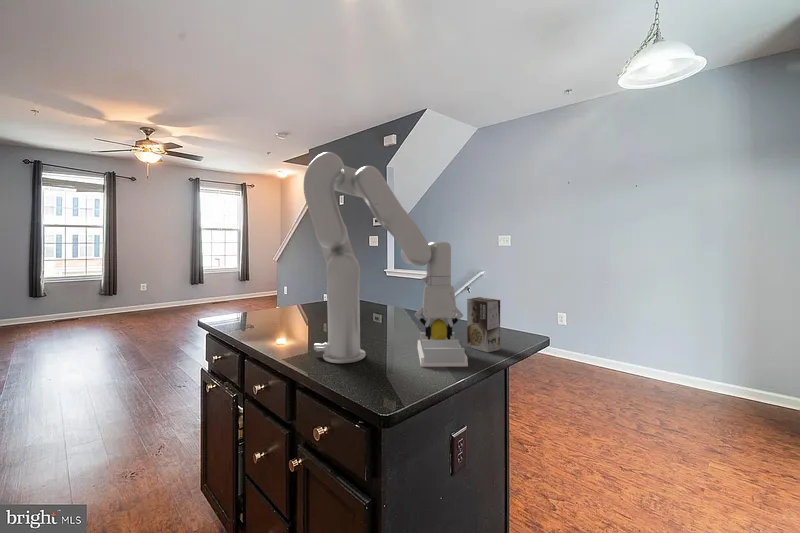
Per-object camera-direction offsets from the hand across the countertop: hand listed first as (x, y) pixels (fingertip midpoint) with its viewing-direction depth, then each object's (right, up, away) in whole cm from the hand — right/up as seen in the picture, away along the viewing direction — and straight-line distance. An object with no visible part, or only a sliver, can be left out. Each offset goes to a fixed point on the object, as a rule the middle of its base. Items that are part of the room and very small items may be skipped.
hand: (438, 338), depth 113 cm
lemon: (0, -2, 0) cm, 2 cm away
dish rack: (0, -5, -4) cm, 6 cm away
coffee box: (+15, -4, +4) cm, 16 cm away
